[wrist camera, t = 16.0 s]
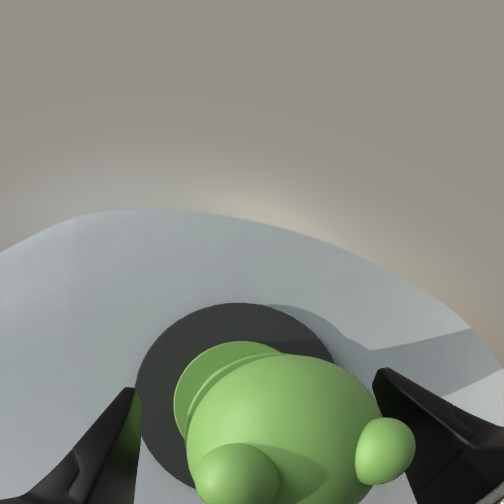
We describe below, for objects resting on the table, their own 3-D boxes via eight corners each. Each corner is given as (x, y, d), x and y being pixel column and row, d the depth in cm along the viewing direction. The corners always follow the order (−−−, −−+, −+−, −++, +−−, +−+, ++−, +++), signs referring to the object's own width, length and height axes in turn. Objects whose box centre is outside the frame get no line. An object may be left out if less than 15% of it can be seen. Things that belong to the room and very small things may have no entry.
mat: (363, 347, 20) (367, 346, 20) (293, 513, 14) (296, 516, 14) (189, 272, 21) (188, 269, 20) (107, 443, 15) (104, 445, 14)
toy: (308, 454, 16) (466, 539, 3) (181, 465, 15) (133, 615, 1) (299, 338, 19) (458, 253, 6) (172, 344, 18) (81, 257, 5)
